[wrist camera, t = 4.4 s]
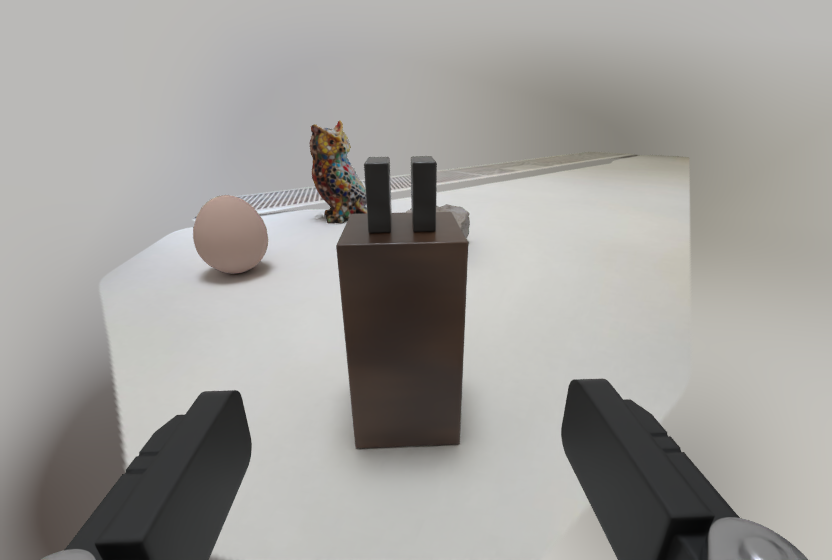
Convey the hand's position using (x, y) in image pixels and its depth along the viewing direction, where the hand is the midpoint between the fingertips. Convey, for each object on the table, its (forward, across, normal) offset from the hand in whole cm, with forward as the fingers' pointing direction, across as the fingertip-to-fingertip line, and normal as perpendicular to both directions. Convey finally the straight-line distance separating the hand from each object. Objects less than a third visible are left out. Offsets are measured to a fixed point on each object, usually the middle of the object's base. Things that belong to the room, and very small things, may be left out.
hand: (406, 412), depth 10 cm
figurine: (+57, +9, +9) cm, 58 cm away
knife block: (+10, 0, +9) cm, 14 cm away
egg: (+33, +18, +9) cm, 39 cm away
